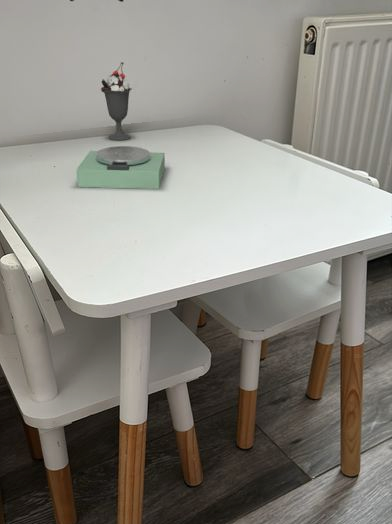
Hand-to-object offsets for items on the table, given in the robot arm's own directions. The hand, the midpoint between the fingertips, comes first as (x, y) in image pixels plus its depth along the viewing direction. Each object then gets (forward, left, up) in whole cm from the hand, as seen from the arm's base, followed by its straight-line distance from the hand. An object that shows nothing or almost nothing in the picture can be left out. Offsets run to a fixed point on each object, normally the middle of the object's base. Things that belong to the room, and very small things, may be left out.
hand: (96, 1), depth 111 cm
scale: (+8, -30, -26) cm, 40 cm away
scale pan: (+8, -29, -23) cm, 38 cm away
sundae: (+3, -1, -26) cm, 26 cm away
